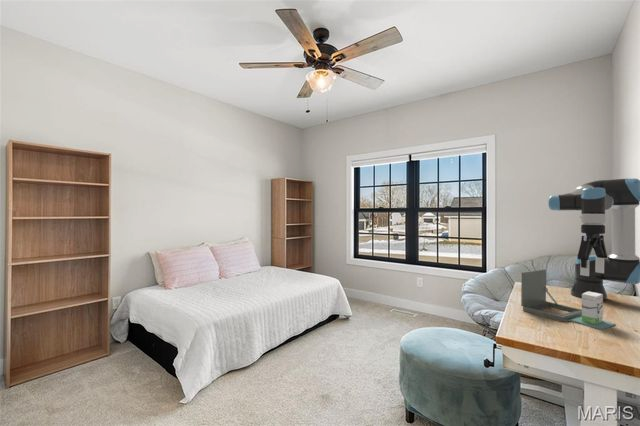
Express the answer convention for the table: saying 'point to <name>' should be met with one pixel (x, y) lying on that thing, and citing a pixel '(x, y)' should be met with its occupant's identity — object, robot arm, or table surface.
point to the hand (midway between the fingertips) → (592, 274)
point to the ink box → (592, 307)
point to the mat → (600, 325)
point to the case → (542, 297)
